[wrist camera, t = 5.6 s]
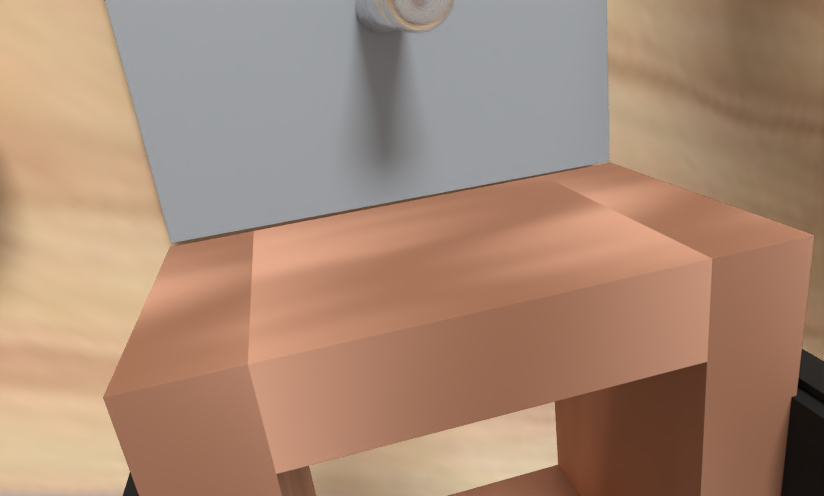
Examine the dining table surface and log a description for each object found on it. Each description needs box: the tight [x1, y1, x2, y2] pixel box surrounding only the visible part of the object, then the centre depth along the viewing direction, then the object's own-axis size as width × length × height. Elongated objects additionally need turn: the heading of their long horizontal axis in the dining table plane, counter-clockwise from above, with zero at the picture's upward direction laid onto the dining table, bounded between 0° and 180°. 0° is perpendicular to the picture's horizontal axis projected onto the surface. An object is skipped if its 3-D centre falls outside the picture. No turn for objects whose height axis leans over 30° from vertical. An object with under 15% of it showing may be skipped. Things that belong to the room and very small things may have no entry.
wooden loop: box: [103, 163, 814, 496], centre depth 9 cm, size 7×7×4 cm
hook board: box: [105, 0, 609, 243], centre depth 25 cm, size 20×16×2 cm
